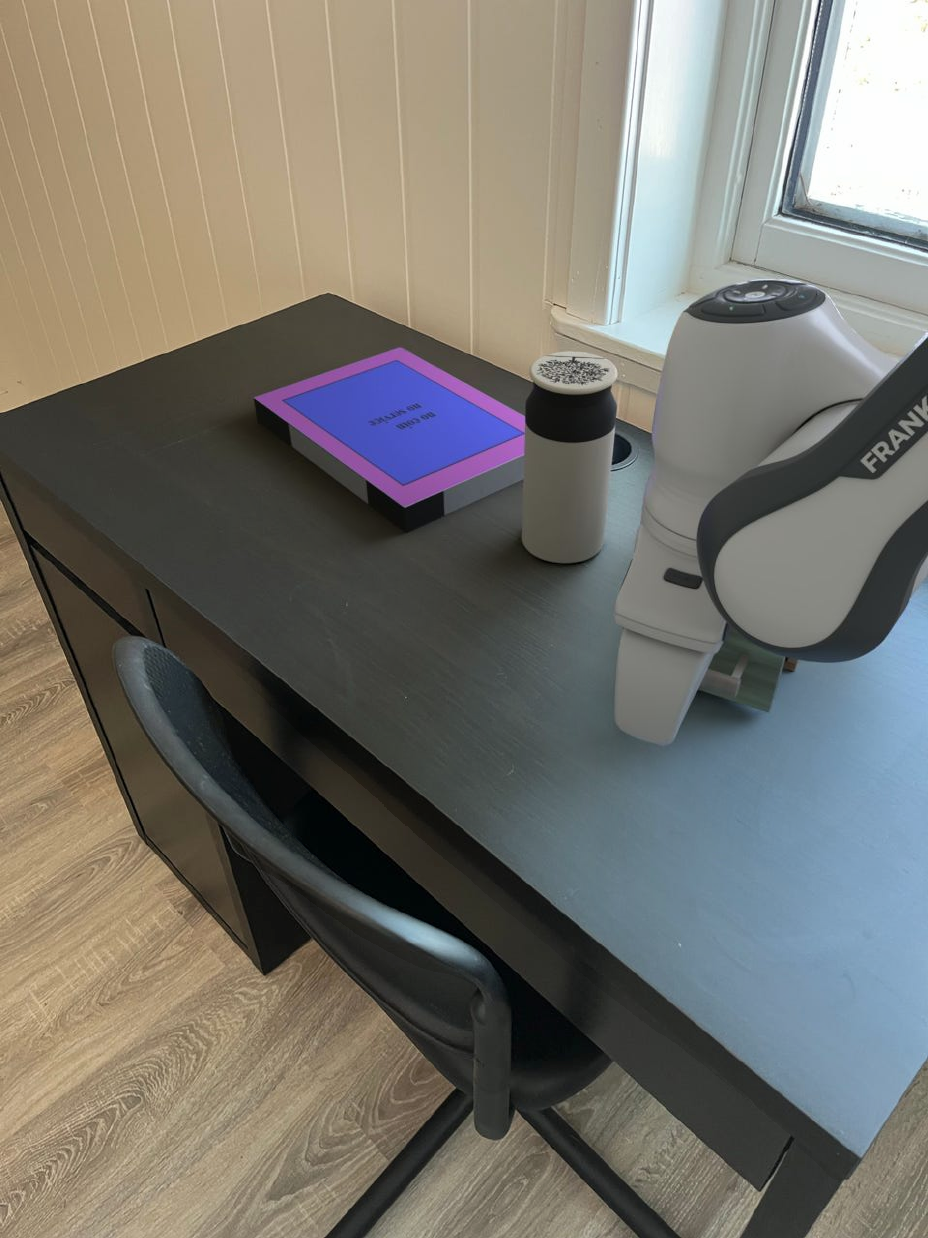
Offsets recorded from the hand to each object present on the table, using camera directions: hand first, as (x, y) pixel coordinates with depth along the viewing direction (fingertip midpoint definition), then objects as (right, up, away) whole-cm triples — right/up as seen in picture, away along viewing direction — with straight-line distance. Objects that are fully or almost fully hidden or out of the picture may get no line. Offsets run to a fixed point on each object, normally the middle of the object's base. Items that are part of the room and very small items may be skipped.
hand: (680, 697), depth 68 cm
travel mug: (-6, +13, +24) cm, 28 cm away
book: (-23, +26, +39) cm, 52 cm away
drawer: (+5, +3, +10) cm, 11 cm away
